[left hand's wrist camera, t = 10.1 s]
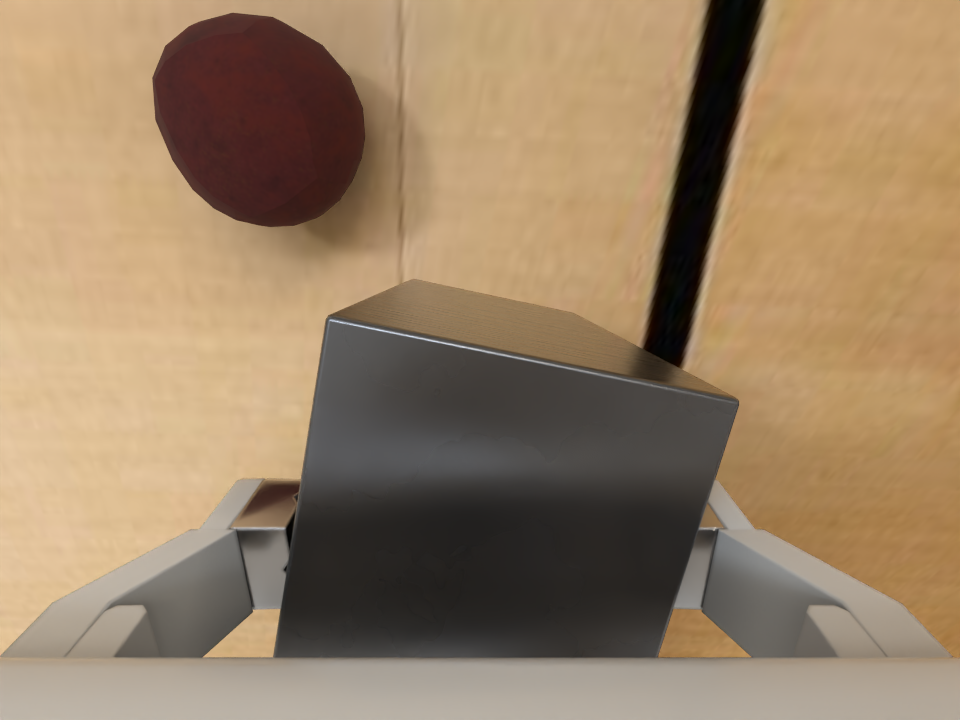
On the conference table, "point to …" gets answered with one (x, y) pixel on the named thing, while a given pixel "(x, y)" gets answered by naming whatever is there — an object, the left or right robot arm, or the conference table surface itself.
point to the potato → (258, 119)
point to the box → (494, 484)
